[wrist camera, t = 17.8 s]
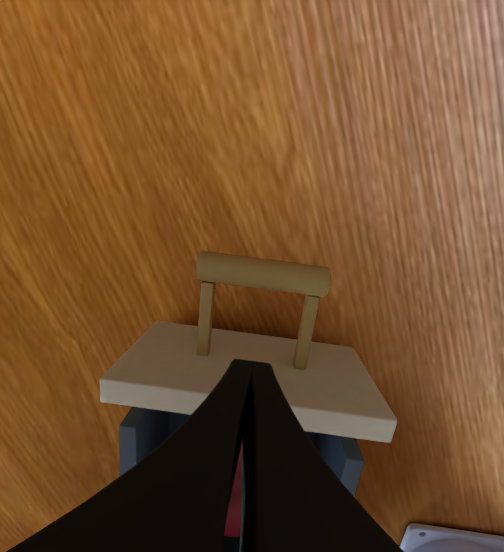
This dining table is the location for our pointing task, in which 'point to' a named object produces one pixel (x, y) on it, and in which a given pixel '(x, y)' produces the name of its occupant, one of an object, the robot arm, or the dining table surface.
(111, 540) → the robot arm
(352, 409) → the drawer
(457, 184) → the dining table surface
